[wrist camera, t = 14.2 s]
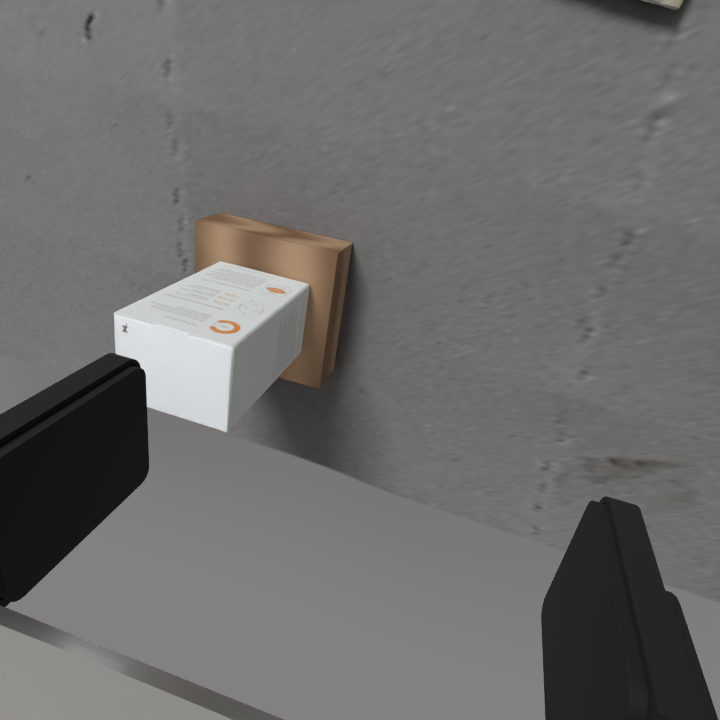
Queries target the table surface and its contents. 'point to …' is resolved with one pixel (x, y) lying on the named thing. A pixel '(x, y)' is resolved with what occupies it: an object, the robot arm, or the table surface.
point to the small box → (214, 341)
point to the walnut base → (293, 261)
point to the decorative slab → (667, 3)
